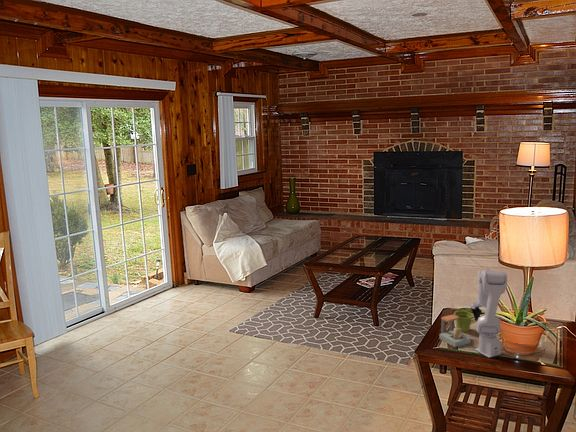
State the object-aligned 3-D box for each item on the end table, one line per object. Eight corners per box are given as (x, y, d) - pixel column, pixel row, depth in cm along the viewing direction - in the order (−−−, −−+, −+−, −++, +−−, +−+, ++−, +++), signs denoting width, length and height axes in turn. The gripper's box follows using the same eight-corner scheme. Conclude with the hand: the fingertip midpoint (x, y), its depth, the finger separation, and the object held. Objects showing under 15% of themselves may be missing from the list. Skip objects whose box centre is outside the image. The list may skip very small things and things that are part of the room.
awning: (457, 336, 264) (458, 317, 262) (446, 338, 261) (447, 320, 259) (451, 332, 268) (451, 314, 266) (440, 335, 265) (441, 317, 263)
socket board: (470, 342, 256) (470, 338, 256) (454, 347, 252) (454, 342, 252) (454, 334, 266) (454, 330, 266) (439, 338, 262) (439, 333, 262)
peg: (460, 340, 259) (461, 327, 258) (461, 343, 256) (461, 330, 254) (452, 340, 260) (453, 327, 258) (453, 343, 256) (454, 330, 255)
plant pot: (475, 333, 267) (475, 317, 265) (456, 333, 267) (457, 317, 265) (469, 325, 276) (469, 310, 274) (451, 326, 276) (452, 311, 275)
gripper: (488, 289, 263) (487, 314, 266) (467, 294, 257) (465, 319, 260) (499, 293, 257) (498, 319, 260) (477, 298, 251) (476, 324, 254)
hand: (482, 319), depth 259 cm, fingers open, 7 cm apart
